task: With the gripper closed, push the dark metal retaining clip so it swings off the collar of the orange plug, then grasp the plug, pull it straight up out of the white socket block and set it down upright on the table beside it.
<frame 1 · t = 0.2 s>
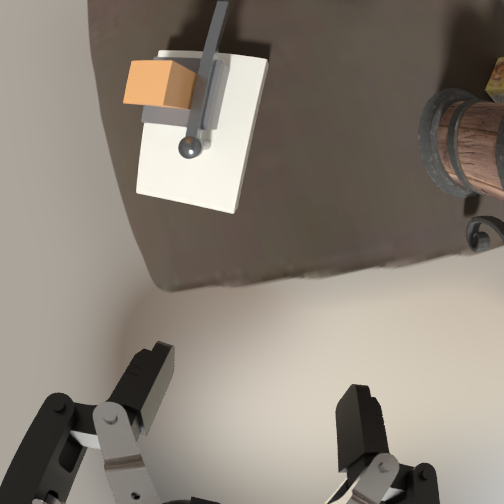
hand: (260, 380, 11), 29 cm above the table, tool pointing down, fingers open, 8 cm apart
socket block: (201, 126, 34), on the table
clip: (205, 75, 24), point 8 cm above the table, hinge at 0.0°
plug: (192, 95, 30), point 3 cm above the table, touching socket block
candy box: (497, 81, 23), on the table
tankard: (464, 164, 31), on the table
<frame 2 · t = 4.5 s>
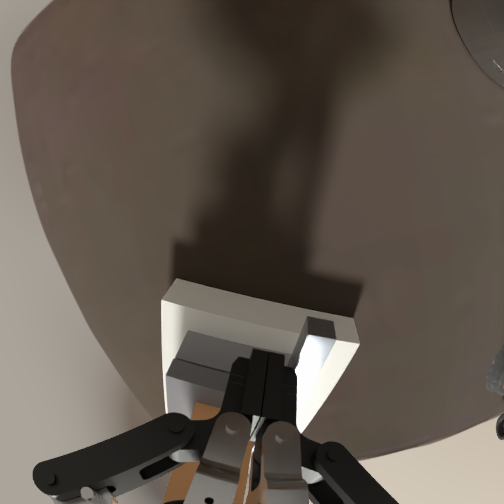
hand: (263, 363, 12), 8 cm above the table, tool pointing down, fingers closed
socket block: (243, 381, 25), on the table
clip: (269, 430, 15), point 8 cm above the table, hinge at 0.1°, touching gripper
plug: (233, 377, 21), point 3 cm above the table, touching socket block
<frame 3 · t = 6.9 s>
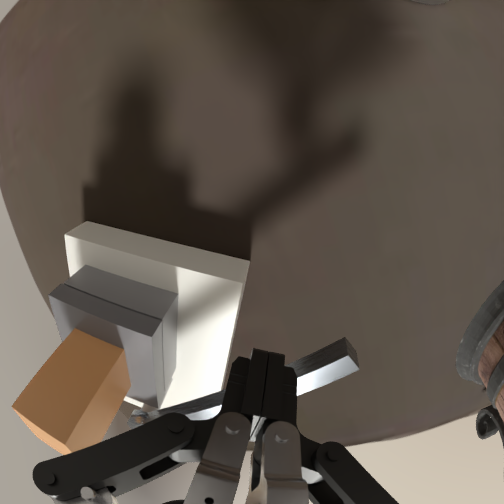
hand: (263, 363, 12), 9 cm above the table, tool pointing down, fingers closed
socket block: (157, 335, 24), on the table
clip: (211, 408, 15), point 8 cm above the table, hinge at 39.8°, touching gripper
plug: (130, 320, 20), point 3 cm above the table, touching socket block
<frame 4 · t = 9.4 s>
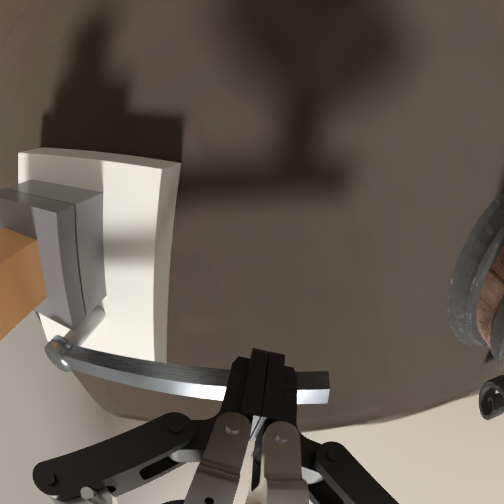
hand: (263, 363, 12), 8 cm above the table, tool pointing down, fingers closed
socket block: (97, 268, 22), on the table
clip: (156, 376, 14), point 8 cm above the table, hinge at 74.0°, touching gripper
plug: (64, 236, 17), point 3 cm above the table, touching socket block
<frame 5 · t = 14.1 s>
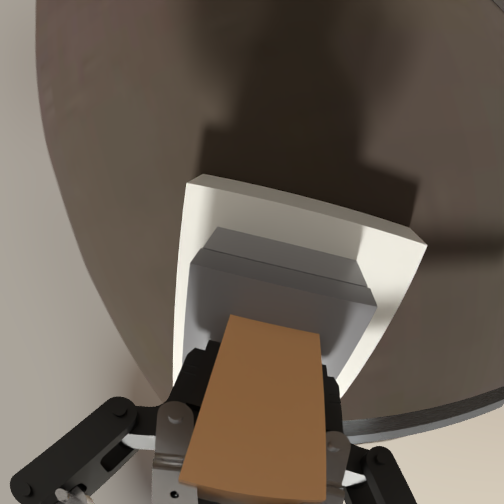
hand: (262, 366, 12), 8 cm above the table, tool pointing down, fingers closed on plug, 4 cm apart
socket block: (274, 323, 21), on the table
clip: (406, 424, 13), point 8 cm above the table, hinge at 74.1°
plug: (271, 302, 17), point 3 cm above the table, touching gripper, socket block
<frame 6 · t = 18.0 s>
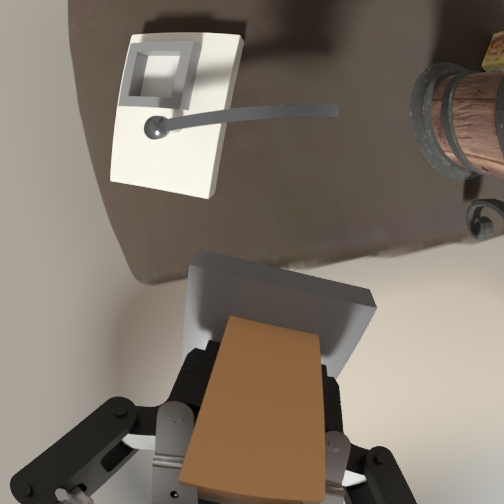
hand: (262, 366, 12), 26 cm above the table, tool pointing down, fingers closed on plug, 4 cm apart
socket block: (175, 109, 31), on the table
clip: (236, 115, 23), point 8 cm above the table, hinge at 74.1°
plug: (271, 303, 17), point 20 cm above the table, touching gripper
candy box: (494, 57, 20), on the table
tankard: (462, 144, 28), on the table
when the fingers open (7 cm above the table, at t = 22.0 s): plug drops 1 cm, on the table.
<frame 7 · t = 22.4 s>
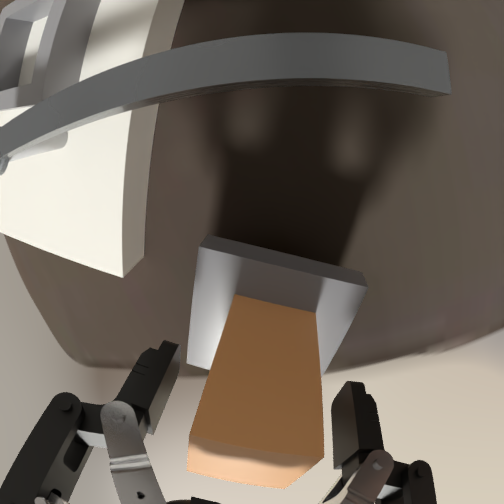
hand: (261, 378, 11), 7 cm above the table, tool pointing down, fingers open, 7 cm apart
socket block: (74, 104, 14), on the table
clip: (111, 93, 6), point 8 cm above the table, hinge at 74.1°
plug: (271, 288, 18), on the table
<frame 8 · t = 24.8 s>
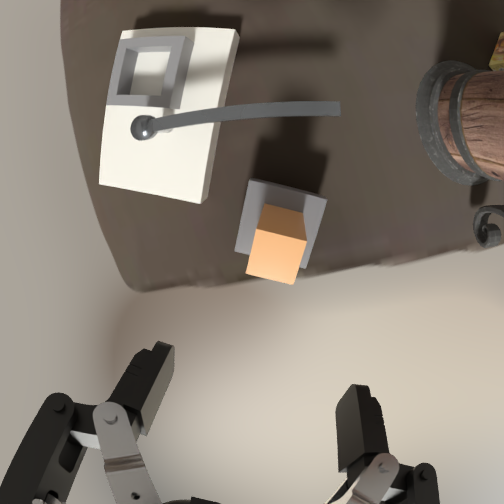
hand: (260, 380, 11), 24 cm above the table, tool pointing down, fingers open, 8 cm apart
socket block: (166, 108, 29), on the table
clip: (228, 113, 21), point 8 cm above the table, hinge at 74.1°
plug: (280, 213, 33), on the table
candy box: (501, 57, 18), on the table
tankard: (469, 147, 26), on the table
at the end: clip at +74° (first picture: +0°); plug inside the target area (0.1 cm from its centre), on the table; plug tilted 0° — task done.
